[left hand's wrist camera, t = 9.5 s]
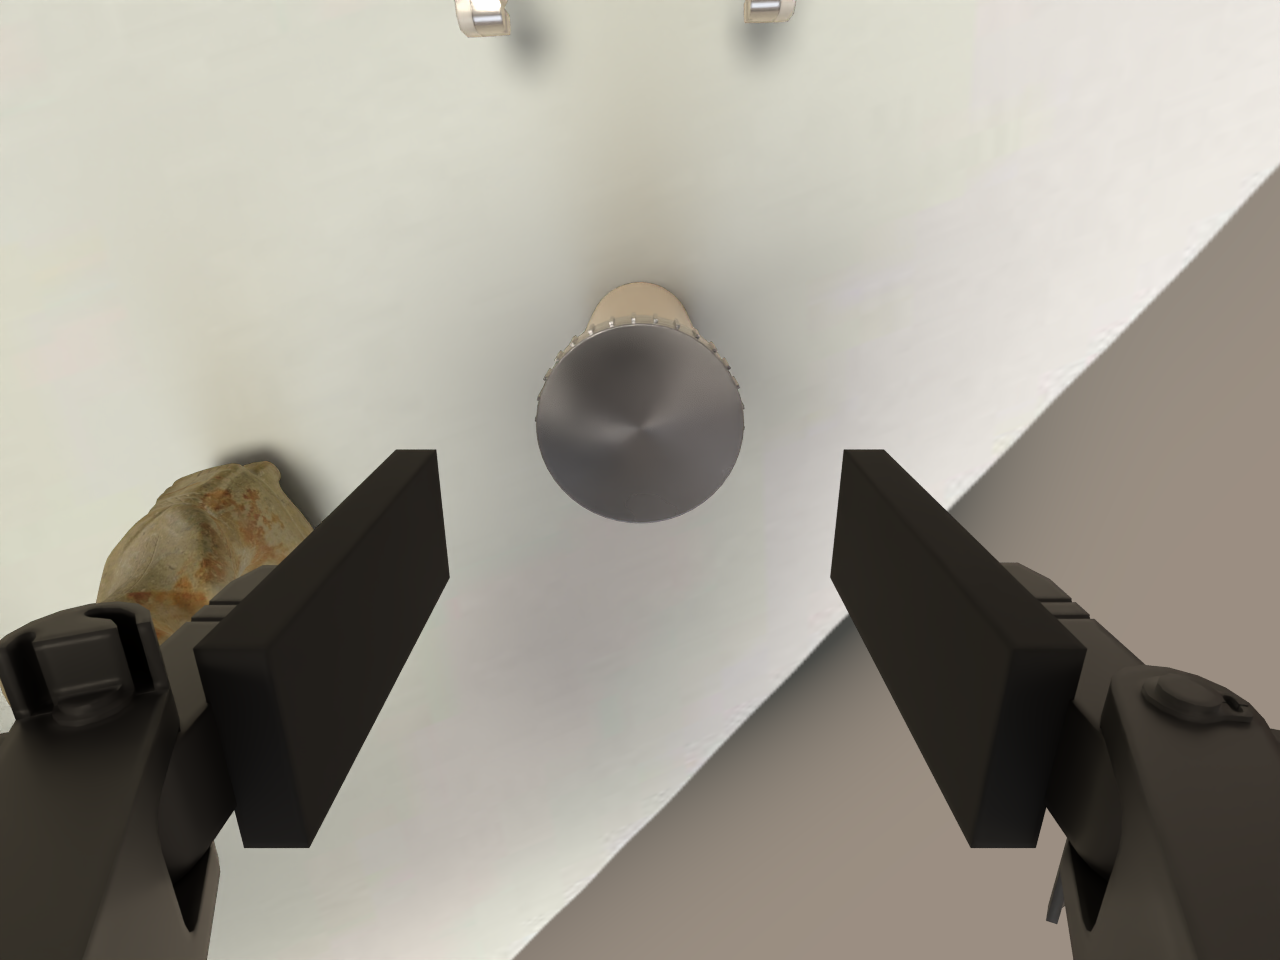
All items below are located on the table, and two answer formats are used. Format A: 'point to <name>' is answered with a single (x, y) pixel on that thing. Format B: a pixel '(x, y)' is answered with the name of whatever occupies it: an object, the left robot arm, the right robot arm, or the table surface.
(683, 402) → the lid
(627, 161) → the table surface
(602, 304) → the jar
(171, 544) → the sculpture
